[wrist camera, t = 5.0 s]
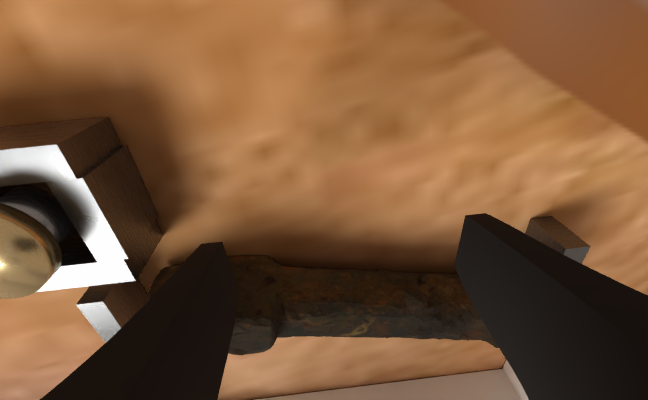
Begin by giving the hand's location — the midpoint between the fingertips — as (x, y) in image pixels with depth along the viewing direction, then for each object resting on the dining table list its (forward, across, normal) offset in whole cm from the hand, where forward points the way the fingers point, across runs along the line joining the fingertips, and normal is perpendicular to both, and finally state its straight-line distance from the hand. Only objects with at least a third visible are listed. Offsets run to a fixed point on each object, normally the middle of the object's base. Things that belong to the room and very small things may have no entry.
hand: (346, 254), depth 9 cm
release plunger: (+5, +11, 0) cm, 13 cm away
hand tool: (+6, 0, +7) cm, 9 cm away
